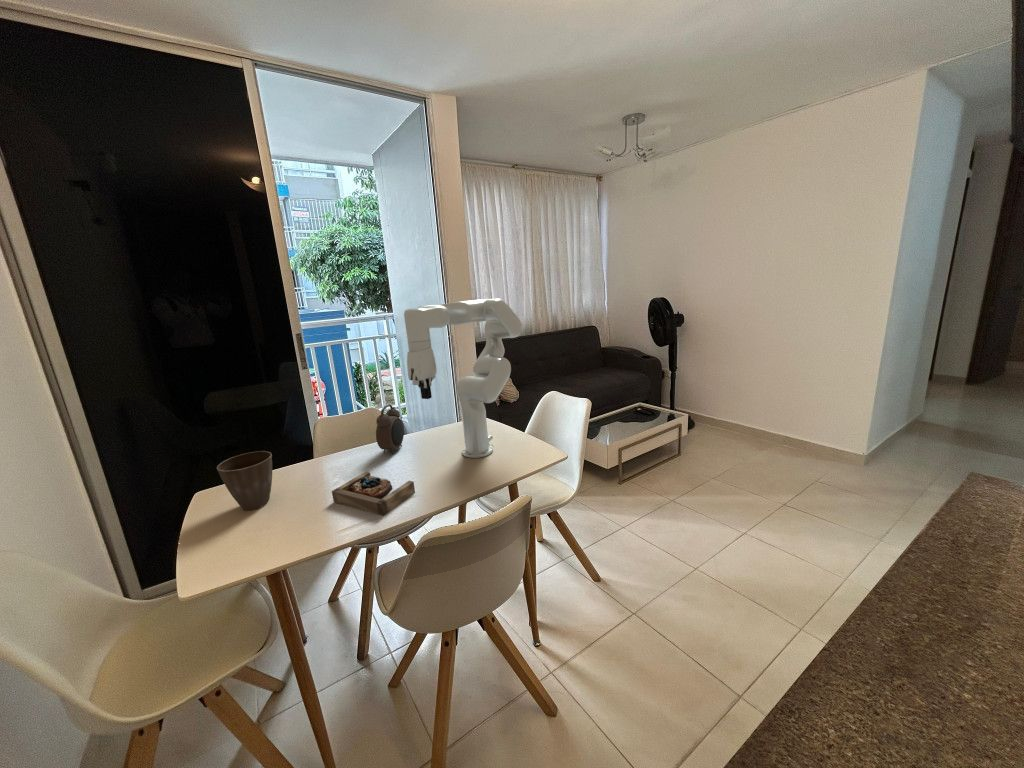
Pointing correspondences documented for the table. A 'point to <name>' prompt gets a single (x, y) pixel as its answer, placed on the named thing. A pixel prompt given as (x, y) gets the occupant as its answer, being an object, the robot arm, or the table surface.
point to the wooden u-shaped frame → (371, 503)
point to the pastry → (372, 487)
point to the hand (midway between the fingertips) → (426, 398)
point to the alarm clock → (389, 429)
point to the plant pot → (248, 478)
